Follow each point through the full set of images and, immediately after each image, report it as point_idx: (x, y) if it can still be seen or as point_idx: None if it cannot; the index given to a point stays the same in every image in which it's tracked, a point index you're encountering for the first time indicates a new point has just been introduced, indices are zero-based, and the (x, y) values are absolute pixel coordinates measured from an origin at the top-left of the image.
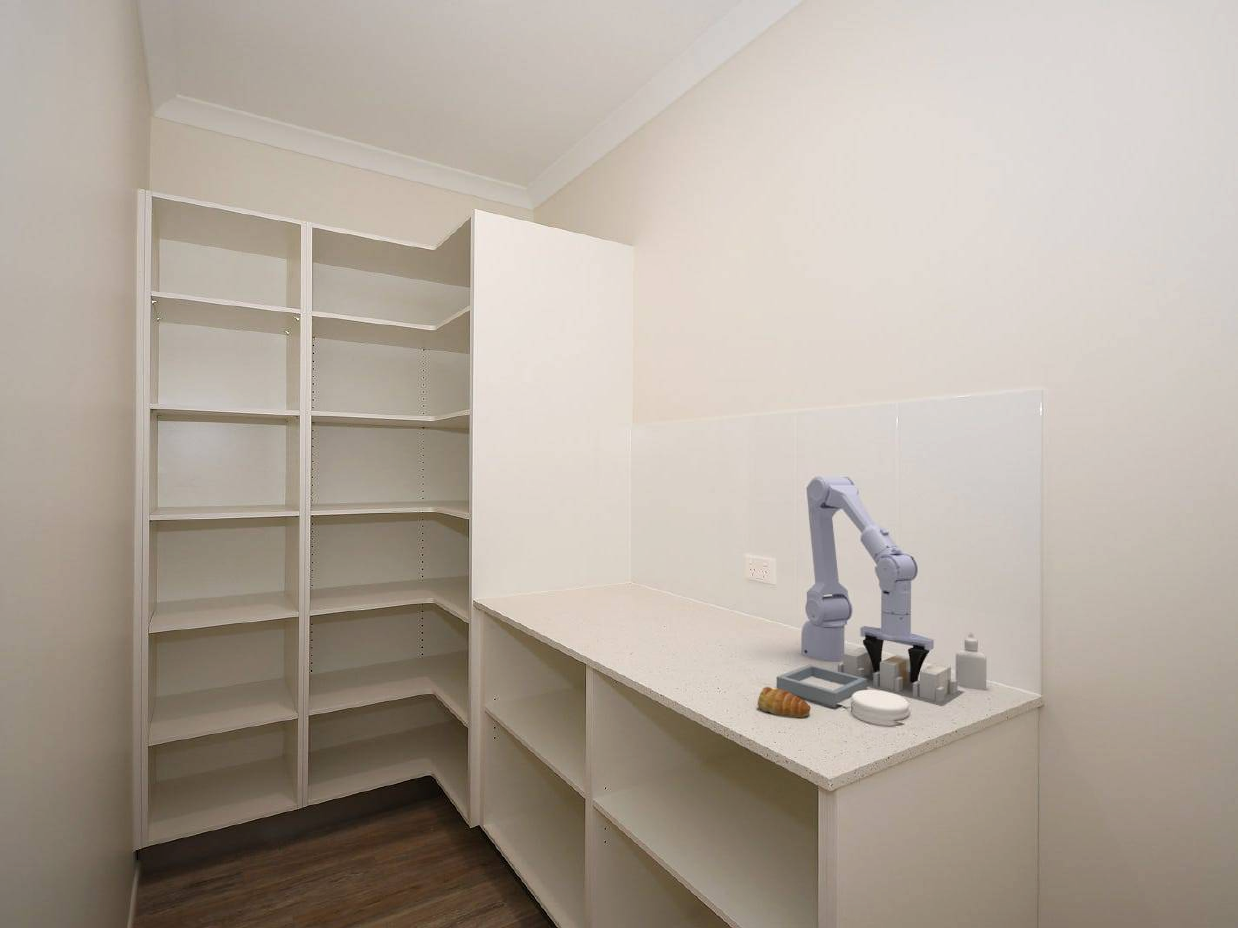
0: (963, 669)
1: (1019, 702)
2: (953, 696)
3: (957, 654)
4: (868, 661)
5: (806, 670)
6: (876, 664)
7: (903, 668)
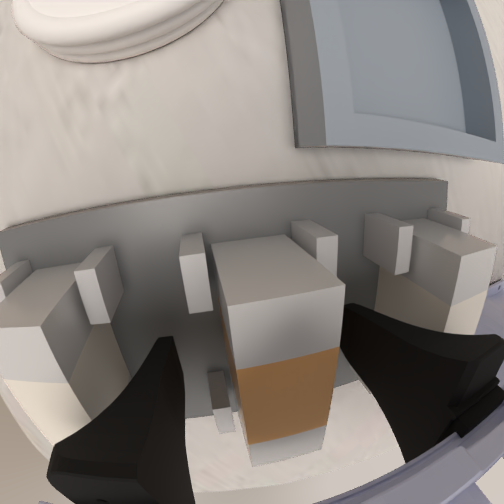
0: None
1: (31, 439)
2: None
3: None
4: None
5: (488, 104)
6: (366, 328)
7: (236, 390)
